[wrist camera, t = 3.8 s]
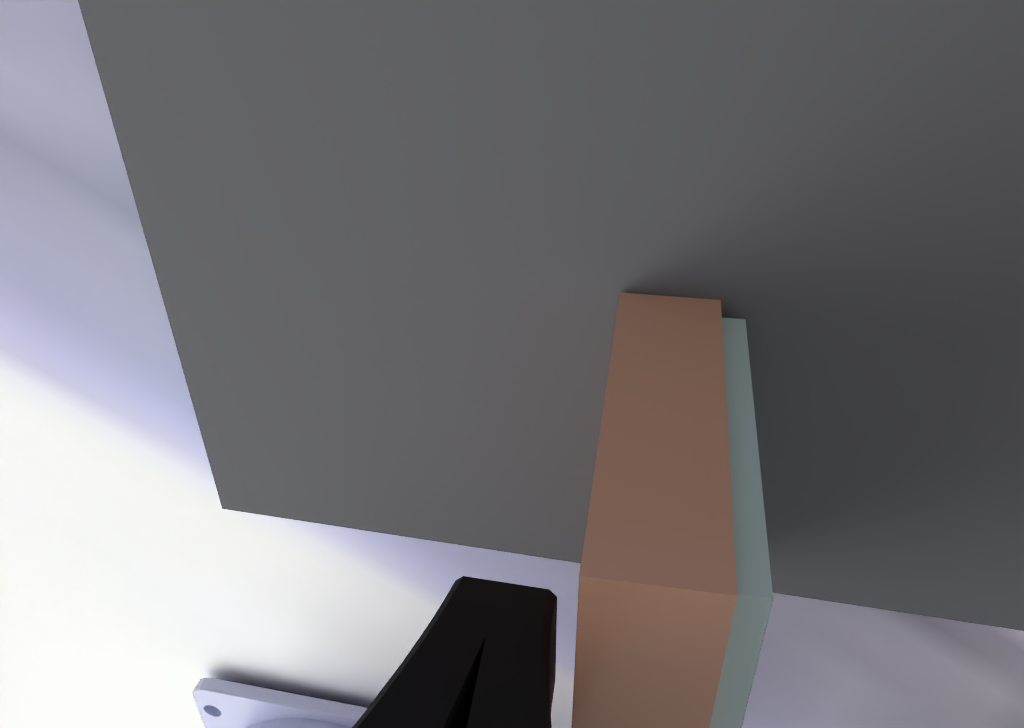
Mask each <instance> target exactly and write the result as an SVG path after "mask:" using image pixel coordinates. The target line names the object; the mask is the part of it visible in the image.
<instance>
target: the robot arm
mask: <svg viewBox="0 0 1024 728" xmlns="http://www.w3.org/2000/svg"><path fill="white" fill-rule="evenodd" d="M556 619H557V596H555V595H554V594H553V593H552V592H551V591H550V590H548V589H542V588H536V587H529V586H523V585H516V584H510V583H504V582H497V581H491V580H484V579H478V578H472V577H465V576H463V577H461V578H459V579H458V580H456V581H455V583H454V584H453V586H452V588H451V590H450V591H449V593H448V595H447V596H446V598H445V600H444V601H443V603H442V605H441V606H440V608H439V609H438V611H437V612H436V614H435V616H434V617H433V619H432V620H431V622H430V623H429V625H428V626H427V628H426V629H425V631H424V632H423V634H422V635H421V637H420V638H419V639H418V641H417V642H416V644H415V645H414V647H413V648H412V649H411V651H410V652H409V654H408V655H407V657H406V658H405V659H404V661H403V662H402V664H401V665H400V666H399V668H398V669H397V670H396V672H395V673H394V674H393V676H392V677H391V678H390V680H389V681H388V682H387V683H386V685H385V686H384V687H383V689H382V690H381V691H380V693H379V694H378V695H377V697H376V698H375V699H374V701H373V702H372V703H371V705H370V706H369V707H368V708H366V707H361V706H356V705H351V704H345V703H340V702H335V701H330V700H325V699H319V698H314V697H309V696H304V695H298V694H293V693H288V692H283V691H278V690H272V689H267V688H262V687H257V686H252V685H246V684H241V683H236V682H231V681H226V680H220V679H215V678H204V679H201V680H200V681H199V682H198V684H197V685H196V687H195V689H194V690H193V696H194V699H195V702H196V704H197V707H198V710H199V712H200V715H201V718H202V720H203V723H204V726H205V728H551V707H552V699H553V692H554V684H555V666H556Z"/></svg>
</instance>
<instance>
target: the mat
mask: <svg viewBox="0 0 1024 728" xmlns="http://www.w3.org/2000/svg"><path fill="white" fill-rule="evenodd" d="M78 2H79V5H80V9H81V12H82V16H83V20H84V23H85V27H86V30H87V34H88V37H89V41H90V44H91V48H92V51H93V55H94V58H95V62H96V65H97V69H98V72H99V76H100V79H101V83H102V86H103V90H104V93H105V97H106V100H107V104H108V107H109V111H110V115H111V118H112V122H113V125H114V129H115V132H116V136H117V139H118V143H119V146H120V150H121V153H122V157H123V160H124V164H125V167H126V171H127V174H128V178H129V181H130V185H131V188H132V192H133V195H134V199H135V203H136V206H137V210H138V213H139V217H140V220H141V224H142V227H143V231H144V234H145V238H146V241H147V245H148V248H149V252H150V255H151V259H152V262H153V266H154V269H155V273H156V276H157V280H158V283H159V287H160V291H161V294H162V298H163V301H164V305H165V308H166V312H167V315H168V319H169V322H170V326H171V329H172V333H173V336H174V340H175V343H176V347H177V350H178V354H179V357H180V361H181V364H182V368H183V371H184V375H185V378H186V382H187V386H188V389H189V393H190V396H191V400H192V403H193V407H194V410H195V414H196V417H197V421H198V424H199V428H200V431H201V435H202V438H203V442H204V445H205V449H206V452H207V456H208V459H209V463H210V466H211V470H212V474H213V477H214V481H215V484H216V488H217V491H218V495H219V498H220V502H221V505H222V509H229V510H235V511H242V512H248V513H255V514H261V515H268V516H274V517H281V518H288V519H294V520H301V521H307V522H314V523H320V524H327V525H334V526H340V527H347V528H353V529H360V530H366V531H373V532H379V533H386V534H393V535H399V536H406V537H412V538H419V539H425V540H432V541H439V542H445V543H452V544H458V545H465V546H471V547H478V548H484V549H491V550H498V551H504V552H511V553H517V554H524V555H530V556H537V557H544V558H550V559H557V560H563V561H570V562H576V563H581V561H582V554H583V547H584V540H585V532H586V525H587V518H588V511H589V504H590V497H591V490H592V483H593V476H594V469H595V462H596V455H597V448H598V441H599V434H600V427H601V420H602V413H603V406H604V399H605V392H606V385H607V378H608V371H609V364H610V357H611V350H612V343H613V336H614V329H615V322H616V315H617V308H618V301H619V294H620V292H622V293H635V294H648V295H661V296H674V297H688V298H701V299H714V300H721V312H722V318H735V319H745V320H746V330H747V340H748V350H749V360H750V370H751V380H752V390H753V400H754V410H755V420H756V430H757V440H758V450H759V460H760V470H761V480H762V490H763V500H764V510H765V520H766V530H767V540H768V550H769V560H770V570H771V581H772V591H773V593H780V594H786V595H793V596H799V597H806V598H813V599H819V600H826V601H832V602H839V603H845V604H852V605H859V606H865V607H872V608H878V609H885V610H891V611H898V612H904V613H911V614H918V615H924V616H931V617H937V618H944V619H950V620H957V621H964V622H970V623H977V624H983V625H990V626H996V627H1003V628H1009V629H1016V630H1023V631H1024V0H78Z"/></svg>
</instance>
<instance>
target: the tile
mask: <svg viewBox="0 0 1024 728" xmlns="http://www.w3.org/2000/svg"><path fill="white" fill-rule="evenodd" d="M772 602H773V591H772V581H771V570H770V560H769V550H768V540H767V530H766V520H765V510H764V500H763V490H762V480H761V470H760V460H759V450H758V440H757V430H756V420H755V410H754V400H753V390H752V380H751V370H750V360H749V350H748V340H747V330H746V320H745V319H735V318H722V312H721V300H714V299H701V298H688V297H674V296H661V295H648V294H635V293H622V292H620V294H619V301H618V308H617V315H616V322H615V329H614V336H613V343H612V350H611V357H610V364H609V371H608V378H607V385H606V392H605V399H604V406H603V413H602V420H601V427H600V434H599V441H598V448H597V455H596V462H595V469H594V476H593V483H592V490H591V497H590V504H589V511H588V518H587V525H586V532H585V540H584V547H583V554H582V561H581V568H580V575H579V593H578V613H577V633H576V652H575V672H574V692H573V712H572V728H741V727H742V723H743V719H744V715H745V711H746V707H747V703H748V699H749V695H750V691H751V687H752V683H753V679H754V675H755V671H756V667H757V662H758V658H759V654H760V650H761V646H762V642H763V638H764V634H765V630H766V626H767V622H768V618H769V614H770V610H771V606H772Z"/></svg>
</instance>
